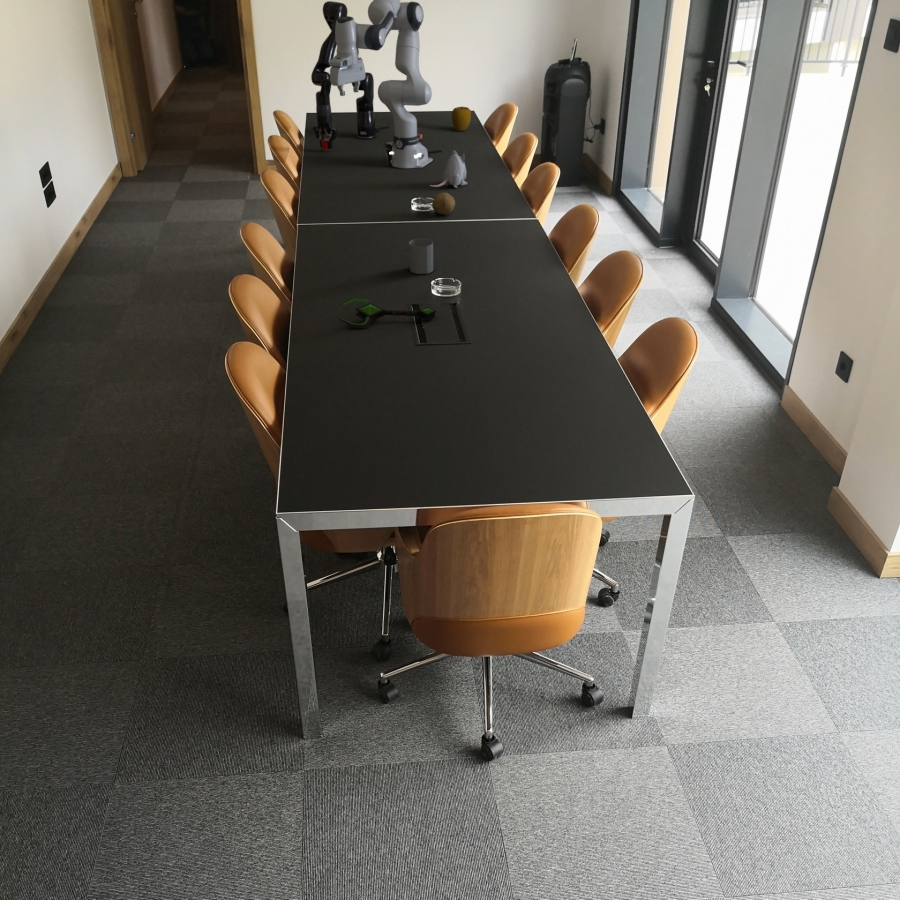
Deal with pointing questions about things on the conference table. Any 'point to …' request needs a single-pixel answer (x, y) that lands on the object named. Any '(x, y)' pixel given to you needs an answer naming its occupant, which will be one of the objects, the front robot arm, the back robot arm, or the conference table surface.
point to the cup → (421, 256)
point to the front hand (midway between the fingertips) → (349, 93)
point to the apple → (461, 118)
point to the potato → (443, 203)
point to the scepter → (383, 312)
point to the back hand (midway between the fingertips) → (326, 147)
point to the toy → (454, 171)
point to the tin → (325, 144)
